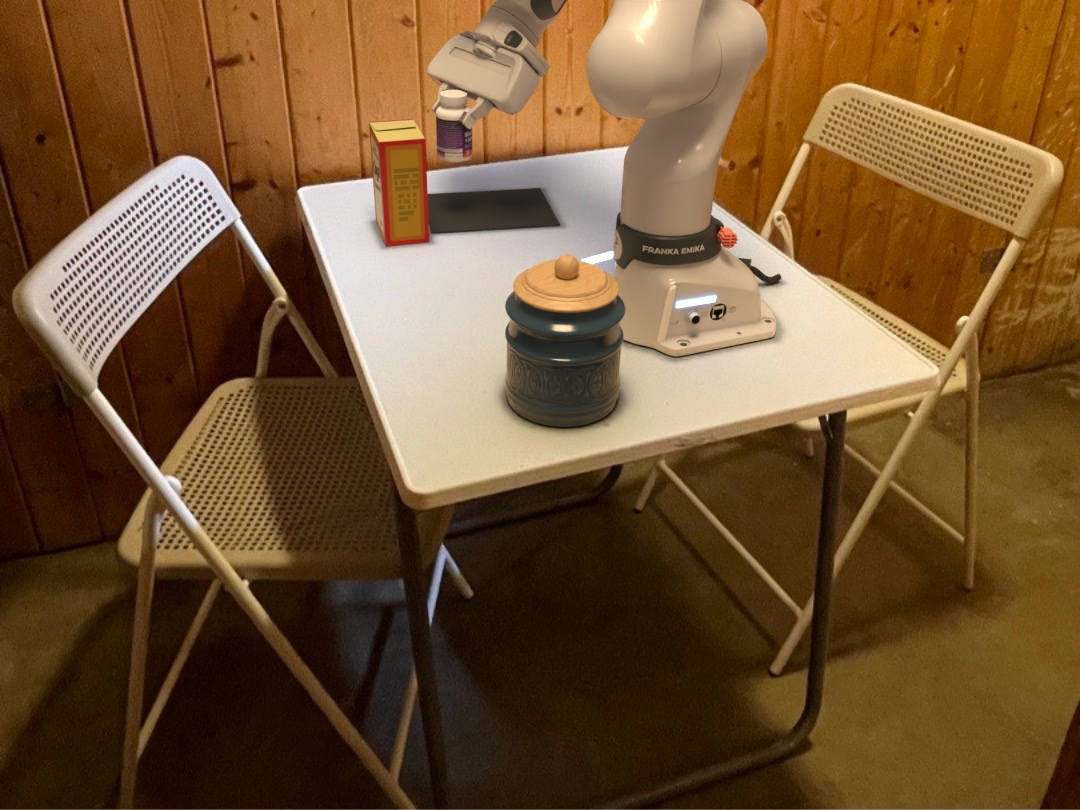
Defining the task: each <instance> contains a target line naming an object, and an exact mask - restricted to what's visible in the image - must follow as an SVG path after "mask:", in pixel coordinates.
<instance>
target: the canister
mask: <svg viewBox="0 0 1080 810" xmlns="http://www.w3.org/2000/svg"><path fill="white" fill-rule="evenodd" d="M612 276H613V275H611V274H610V273H607V272H606V271H605V270H604V269H602V268H600V267H599V266H597V265H595V264H590V263H587V262H584V261H581V260H579V259H577V257H576V256H574V255H573V254H569V253H568V254H567V253H566V254H561V255H559V256H558V257H557V258H556V259H549V260H546V261H542V262H539V263H537V264H534V265H533V266H531V267H530V268H528V269H526V270H524V271H522V272H521V273H519V274H518V275H517V276H516V277H515V279H514V281H513V284H512V290H513V291H512V292H511V293H510V294H509V295H508V296H507V298H506V300H505V304H504V309H505V313H506V314H507V316H508V318H509V321H508V323H507V325H506V327H505V330H504V337H505V338H504V339H505V340H506V373H505V376H504V383H505V384H504V388H505V389H504V390H505V393H506V396H507V401H508V404H509V405H510V407H511V408H512V410H513V411H514V412H516V414H518V415H520V416H521V417H523V418H524V419H526V420H529V421H531V422H534V423H537V424H539V425H544V426H549V427H557V428H558V427H560V428H570V427H571V428H572V427H579V426H586V425H589V424H592V423H595V422H598V421H599V420H601V419H603V418H605V417H606V416H608V415H609V414H611V412H612V411H613V409H615V407H616V404H617V400H618V397H619V394H620V389H621V388H620V387H621V379H620V368H621V367H620V366H621V355H622V354H621V353H622V344H623V342H624V340H623V338H624V335H623V330H622V328H621V326H620V321H621V320H622V319H623V317H624V315H625V311H626V308H625V304H624V302H623V300H622V299H621V297H620V296H619V295H618V293H619V285H618V283H617V281H616V280H615V279H614V278H613V277H612Z"/></svg>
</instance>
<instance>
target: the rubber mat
mask: <svg viewBox="0 0 1080 810" xmlns="http://www.w3.org/2000/svg"><path fill="white" fill-rule="evenodd" d="M428 215H429V231H430V233H431V235H435V234H450V233H451V234H452V233H453V234H454V233H467V232H469V233H470V232H482V231H483V232H485V231H486V232H487V231H499V230H516V229H529V228H530V229H533V228H549V227H550V228H551V227H560V226H561V222H560V221H559V219H558V218H557V216H556V214H555V212H554V210H553V208H552V207H551V205H550V203H549V201H548V199H547V197H546V196H545V194H544V192H543V190H542V189H541V187H533V188H532V187H531V188H530V187H529V188H514V189H512V188H511V189H497V190H496V189H494V190H493V189H492V190H479V191H478V190H477V191H476V190H475V191H460V192H459V191H458V192H457V191H456V192H442V193H439V192H438V193H428Z"/></svg>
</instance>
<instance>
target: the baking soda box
mask: <svg viewBox="0 0 1080 810" xmlns="http://www.w3.org/2000/svg"><path fill="white" fill-rule="evenodd" d="M368 125H369V126H368V127H369V128H368V129H369V143H370V155H371V156H370V157H371V170H372V171H371V172H372V183H373V184H372V185H373V198H374V199H373V201H374V213H375V214H374V215H375V223H376V225H377V228H378V230H379V233H380V236H381V238H382V240H383V243H384V245H385V247H397V246H406V245H417V244H426V243H430V242H431V241H430V240H431V239H430V226H429V215H428V194H429V192H428V170H427V168H428V167H427V143H426V142H427V141H426V138H425V136H424V134H423V133H422V131H421V130H420V128H419V126H418V124H417V123H416V121H415V120H414V118H410V119H408V118H407V119H394V120H379V121H369V122H368Z"/></svg>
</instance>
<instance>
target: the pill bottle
mask: <svg viewBox="0 0 1080 810" xmlns="http://www.w3.org/2000/svg"><path fill="white" fill-rule="evenodd" d="M440 103H441V104H442V106H440V107H438V109H437V110H436V114H435V127H436V128H435V135H436V136H435V137H436V156H437V158H438V159H439V160H440V161H441V162H445V163H451V164H452V163H453V164H454V163H456V164H457V163H465V162H468V161H470V160H471V159H472V158H473V127H472V128H471V129H467V128H465V127H463V126H462V125H461V124H460V123H459V118H460V117H461V116H462V114H463V112H464V111H465V112H468V111H469V110H471V109H472V108H470V107H469V106H468V105H467V104H468V97H467V93H466V92H464V91H461V90H445V91H442V92H441V93H440Z"/></svg>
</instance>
